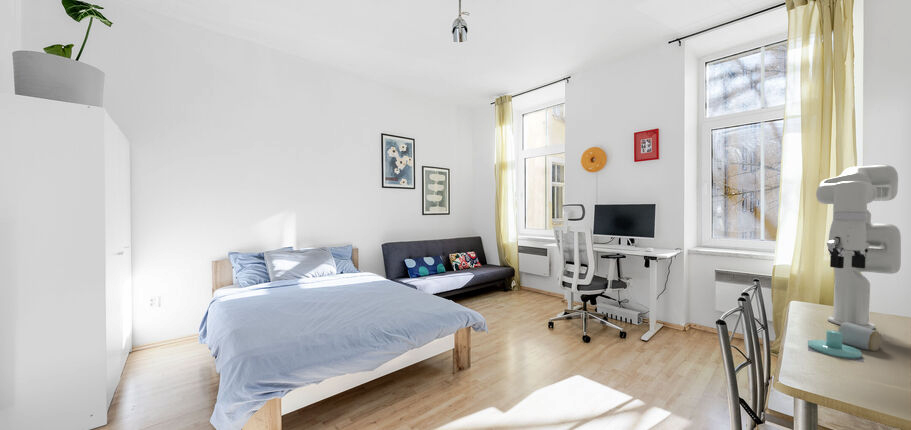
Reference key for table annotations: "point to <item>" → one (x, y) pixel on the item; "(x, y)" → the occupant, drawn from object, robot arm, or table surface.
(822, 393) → the table surface
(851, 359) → the mat
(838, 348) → the lid
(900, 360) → the table surface
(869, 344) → the ceramic mug
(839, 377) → the table surface
